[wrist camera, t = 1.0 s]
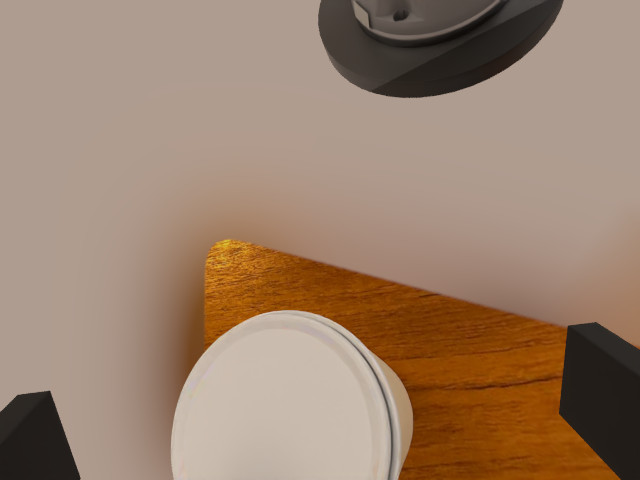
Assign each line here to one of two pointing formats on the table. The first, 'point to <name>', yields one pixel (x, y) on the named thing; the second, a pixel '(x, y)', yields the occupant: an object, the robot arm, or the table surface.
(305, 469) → the coffee cup
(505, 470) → the table surface
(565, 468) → the table surface
